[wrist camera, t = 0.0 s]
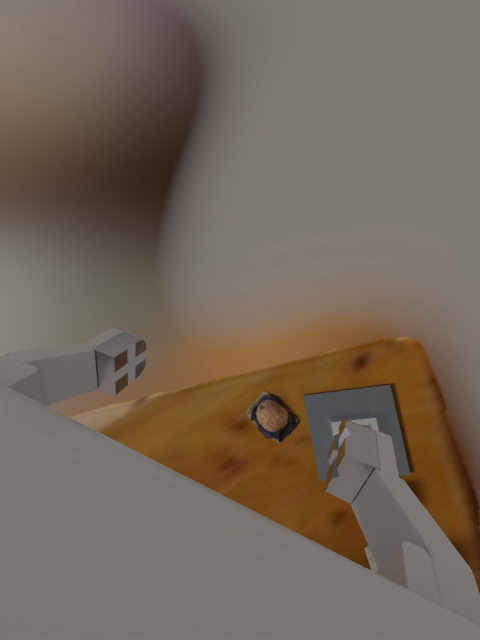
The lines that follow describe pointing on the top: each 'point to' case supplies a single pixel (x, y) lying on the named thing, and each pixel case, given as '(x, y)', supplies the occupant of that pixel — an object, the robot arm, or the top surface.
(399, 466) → the metal duct collar
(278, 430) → the bread roll
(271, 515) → the top surface
